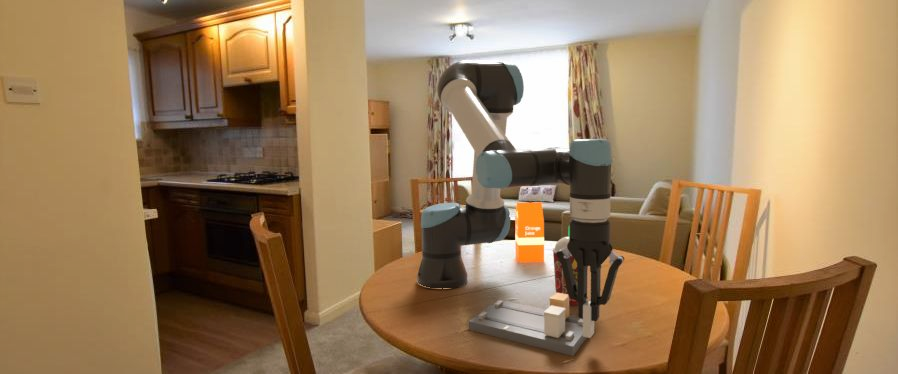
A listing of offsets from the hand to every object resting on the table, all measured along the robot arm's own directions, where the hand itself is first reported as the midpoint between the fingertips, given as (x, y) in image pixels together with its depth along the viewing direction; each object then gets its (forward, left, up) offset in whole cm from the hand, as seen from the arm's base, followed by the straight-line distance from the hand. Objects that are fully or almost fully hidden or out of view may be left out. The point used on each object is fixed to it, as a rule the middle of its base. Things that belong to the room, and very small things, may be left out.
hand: (588, 334), depth 89 cm
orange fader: (-9, +8, -1) cm, 12 cm away
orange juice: (-37, +56, -4) cm, 67 cm away
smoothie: (-12, +24, -4) cm, 27 cm away
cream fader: (-7, 0, -1) cm, 7 cm away
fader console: (-14, +4, -4) cm, 15 cm away
